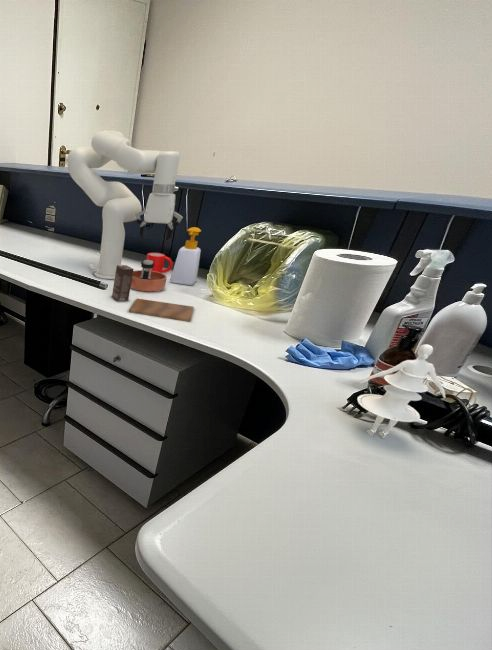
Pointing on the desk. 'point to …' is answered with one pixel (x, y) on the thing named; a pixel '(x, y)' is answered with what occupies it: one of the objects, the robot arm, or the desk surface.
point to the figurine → (401, 391)
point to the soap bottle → (187, 261)
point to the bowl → (148, 281)
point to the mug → (159, 262)
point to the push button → (146, 269)
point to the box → (122, 282)
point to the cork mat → (162, 309)
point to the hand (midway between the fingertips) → (154, 238)
